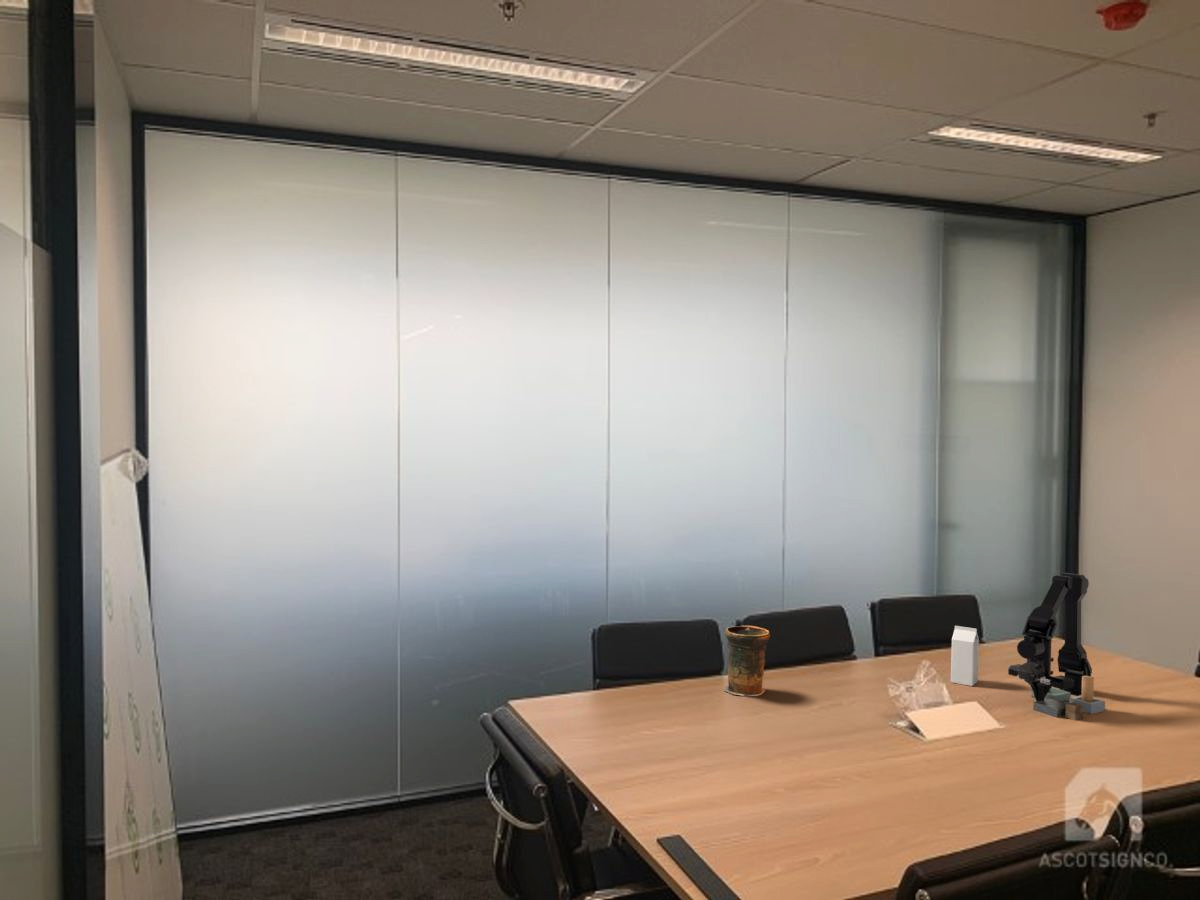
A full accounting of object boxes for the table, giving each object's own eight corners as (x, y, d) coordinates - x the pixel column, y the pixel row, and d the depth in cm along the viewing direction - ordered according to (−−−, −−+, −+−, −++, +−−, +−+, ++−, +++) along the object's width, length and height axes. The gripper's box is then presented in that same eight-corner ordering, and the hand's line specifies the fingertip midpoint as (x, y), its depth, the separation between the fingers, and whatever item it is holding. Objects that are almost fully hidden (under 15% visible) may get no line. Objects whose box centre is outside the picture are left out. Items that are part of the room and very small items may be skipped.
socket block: (1082, 704, 274) (1083, 695, 274) (1104, 710, 268) (1105, 701, 268) (1069, 707, 271) (1069, 697, 271) (1091, 713, 265) (1091, 704, 265)
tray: (1047, 693, 286) (1047, 686, 286) (1070, 700, 279) (1070, 692, 279) (1031, 696, 282) (1031, 689, 282) (1054, 703, 275) (1054, 695, 275)
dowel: (1085, 707, 272) (1086, 675, 272) (1095, 709, 269) (1096, 677, 269) (1078, 708, 270) (1079, 676, 270) (1088, 711, 268) (1089, 679, 267)
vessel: (769, 699, 274) (770, 635, 274) (723, 696, 276) (725, 633, 276) (767, 686, 288) (769, 626, 288) (724, 683, 291) (725, 624, 290)
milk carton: (972, 686, 292) (973, 630, 292) (950, 682, 297) (951, 627, 296) (977, 682, 298) (979, 627, 298) (956, 678, 302) (957, 624, 302)
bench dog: (1073, 715, 263) (1073, 702, 263) (1083, 718, 261) (1083, 705, 260) (1065, 717, 261) (1065, 704, 261) (1074, 720, 259) (1075, 706, 259)
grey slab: (1049, 708, 272) (1050, 698, 271) (1074, 715, 264) (1074, 705, 264) (1033, 711, 268) (1033, 701, 268) (1057, 719, 261) (1057, 709, 261)
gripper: (997, 649, 275) (996, 698, 275) (1052, 664, 259) (1051, 716, 259) (1020, 646, 280) (1018, 694, 280) (1075, 660, 264) (1074, 711, 264)
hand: (1039, 703), depth 271 cm, fingers closed
